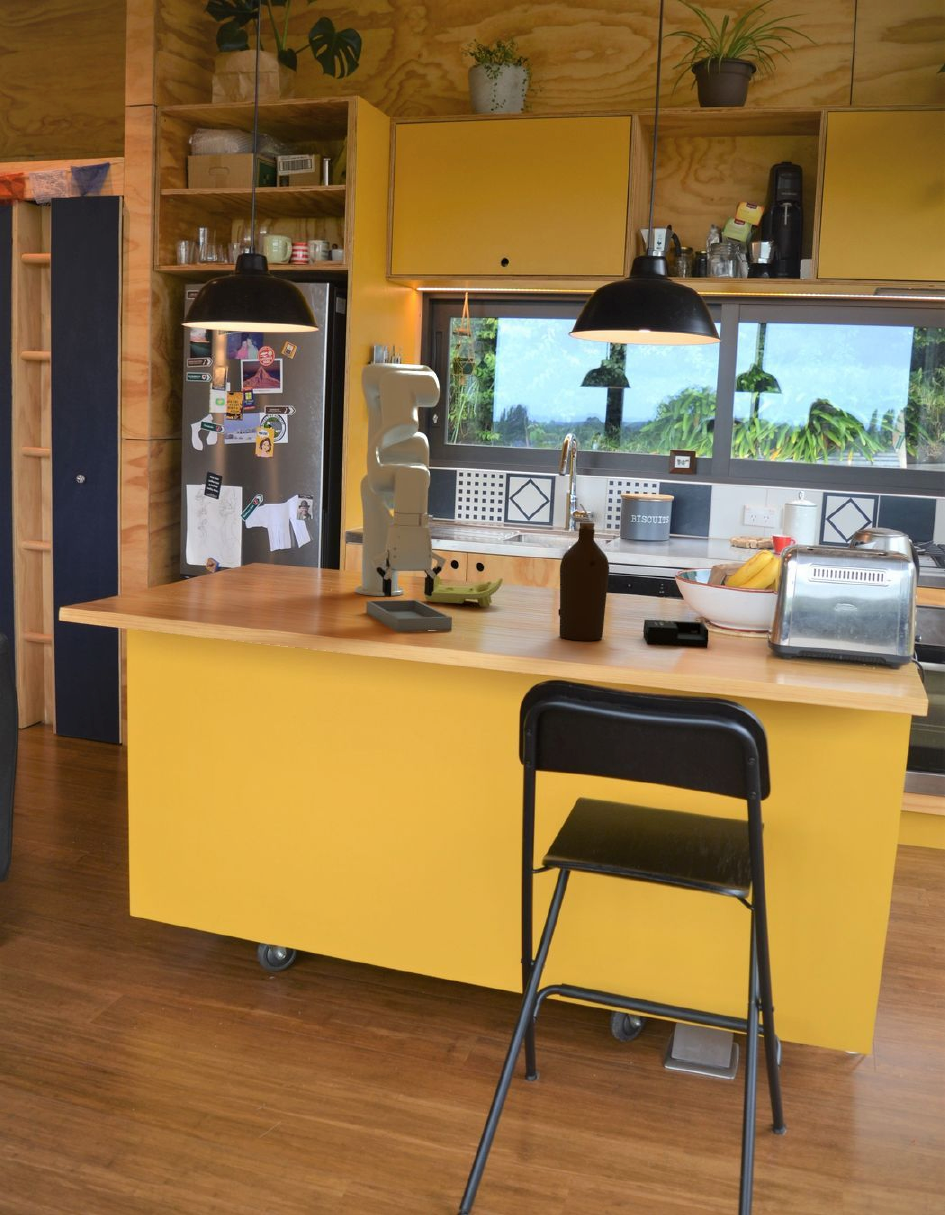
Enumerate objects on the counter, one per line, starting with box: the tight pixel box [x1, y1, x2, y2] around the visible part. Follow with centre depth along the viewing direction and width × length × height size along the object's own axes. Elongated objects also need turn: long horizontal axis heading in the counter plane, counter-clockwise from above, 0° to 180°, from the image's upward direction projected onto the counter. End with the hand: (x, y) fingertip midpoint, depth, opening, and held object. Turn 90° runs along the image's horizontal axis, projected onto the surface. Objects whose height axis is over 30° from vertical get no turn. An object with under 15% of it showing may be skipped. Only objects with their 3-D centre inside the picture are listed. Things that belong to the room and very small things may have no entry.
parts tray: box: [365, 599, 453, 633], centre depth 258 cm, size 24×12×3 cm, turn 21°
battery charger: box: [642, 619, 709, 649], centre depth 248 cm, size 13×10×4 cm
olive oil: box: [557, 521, 610, 642], centre depth 246 cm, size 11×11×25 cm
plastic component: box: [422, 575, 504, 607], centre depth 286 cm, size 20×7×10 cm
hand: (407, 595), depth 258 cm, fingers open, 9 cm apart
